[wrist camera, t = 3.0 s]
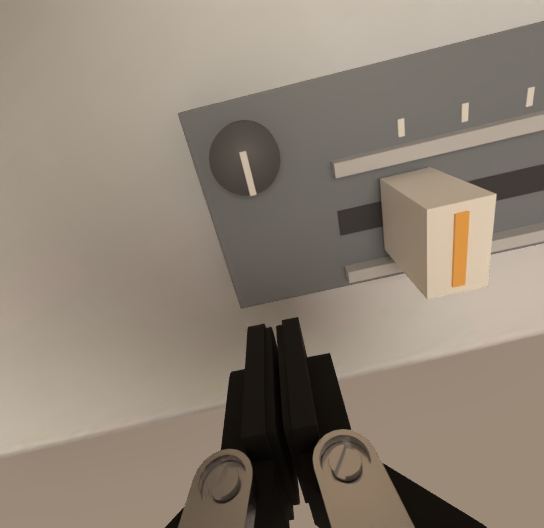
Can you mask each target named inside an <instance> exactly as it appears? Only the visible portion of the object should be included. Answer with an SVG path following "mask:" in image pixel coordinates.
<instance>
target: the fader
mask: <svg viewBox="0 0 544 528" xmlns="http://www.w3.org/2000/svg"><path fill="white" fill-rule="evenodd" d="M380 189H381V204H382V218H383V233H384V247H385V251H386V252H387V253H388V254H389V255H390V256H391V258H392V259H393V260H394V261H395V262H396V263H397V265H398V266H399V267H400V268H401V269H402V270H403V272H404V273H405V274H406V275H407V276H408V277H409V279H410V280H411V281H412V282H413V283H414V284H415V286H416V287H417V288H418V289H419V290H420V291H421V293H422V294H423V295H424V296H425V297H426V298H427V299H431V298H436V297H441V296H445V295H450V294H455V293H460V292H464V291H469V290H474V289H479V288H483V287H488V277H489V267H490V256H491V246H492V236H493V226H494V215H495V205H496V195H497V194H495V193H493V192H491V191H488V190H486V189H483V188H481V187H478V186H476V185H473V184H471V183H468V182H466V181H463V180H461V179H458V178H456V177H453V176H451V175H449V174H446V173H444V172H441V171H439V170H436V169H434V168H431V167H428V168H423V169H419V170H415V171H411V172H406V173H402V174H398V175H393V176H389V177H385V178H380Z"/></svg>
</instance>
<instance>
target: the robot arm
mask: <svg viewBox="0 0 544 528" xmlns="http://www.w3.org/2000/svg"><path fill="white" fill-rule="evenodd" d="M276 330H277V344H276V341H275V337H274V333H273V330H272V327H268V328H266V326H265V324H261V325H256V326H250V327H248V330H247V346H246V363H245V369H243V370H238V371H233V372H231V373H230V377H229V385H228V394H227V402H226V411H225V420H224V428H223V437H222V445H221V450H220V451H218V452H216V453H214V454H212V455H211V456H209V457H208V458H207V459H206V460H205V461H204V462H203V463H202V464H201V466H200V467H199V468H198V470H197V472H196V474H195V476H194V478H193V481H192V485H191V488H190V491H189V494H188V497H187V501H186V504H185V507H184V508H183V509H182V510H181V511H180V512H179V513H178V514H177V515H176V516H175V517H174V518H173V519H172V521H171V522H170V523H169V524H168V525H167V526H166V527H165V528H289V520H294V512H293V505H299V504H300V498H299V488H298V480H299V483H300V486H301V490H302V493H303V496H304V500H305V503H309V506H310V509H311V512H312V516H313V519H314V523H315V525H317V526H318V527H319V528H487V527H486V526H484V525H483V524H482V523H480V522H478V521H477V520H475V519H473V518H472V517H470V516H469V515H467V514H465V513H464V512H462V511H460V510H459V509H457V508H455V507H454V506H452V505H451V504H449V503H447V502H446V501H444V500H442V499H441V498H439V497H437V496H436V495H434V494H433V493H431V492H429V491H428V490H426V489H424V488H423V487H421V486H419V485H418V484H416V483H414V482H413V481H411V480H410V479H408V478H406V477H405V476H403V475H401V474H400V473H398V472H396V471H395V470H393V469H392V468H390V467H388V466H387V465H385V464H383V463H382V462H381V460H380V458H379V456H378V454H377V452H376V450H375V448H374V447H373V445H372V444H371V442H370V441H369V440H368V439H367V438H366V437H364V436H363V435H362V434H360V433H358V432H355V431H353V430H351V427H350V423H349V420H348V416H347V413H346V409H345V405H344V402H343V398H342V395H341V391H340V388H339V384H338V380H337V377H336V373H335V369H334V366H333V362H332V358H331V355H330V353H328V354H322V355H317V356H312V357H307V355H306V350H305V346H304V341H303V337H302V332H301V328H300V323H299V319H298V317H296V318H291V319H286V320H282V325H278V326H276ZM277 345H278V348H277Z"/></svg>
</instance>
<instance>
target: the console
mask: <svg viewBox="0 0 544 528" xmlns="http://www.w3.org/2000/svg"><path fill="white" fill-rule="evenodd" d="M178 116H179V119H180V122H181V125H182V128H183V131H184V134H185V137H186V141H187V144H188V147H189V150H190V153H191V156H192V159H193V162H194V165H195V168H196V171H197V174H198V178H199V181H200V184H201V187H202V190H203V193H204V196H205V199H206V202H207V205H208V208H209V211H210V215H211V218H212V221H213V224H214V227H215V230H216V233H217V236H218V239H219V242H220V245H221V248H222V252H223V255H224V258H225V261H226V264H227V267H228V270H229V273H230V276H231V279H232V282H233V285H234V289H235V292H236V295H237V298H238V301H239V304H240V307H241V308H246V307H250V306H255V305H259V304H264V303H269V302H273V301H278V300H283V299H287V298H292V297H297V296H301V295H306V294H310V293H315V292H320V291H324V290H329V289H334V288H338V287H343V286H347V285H352V284H357V283H361V282H366V281H371V280H375V279H380V278H385V277H389V276H394V275H398V274H403V273H404V272H403V270H402V269H401V268H400V267H399V266H398V265H397V263H396V262H395V261H394V260H393V259H392V258H391V256H390V255H389V254H388V253H387V252H386V251H385V247H384V233H383V218H382V204H381V189H380V178H385V177H389V176H393V175H398V174H402V173H406V172H411V171H415V170H419V169H423V168H428V167H431V168H434V169H436V170H439V171H441V172H444V173H446V174H449V175H451V176H453V177H456V178H458V179H461V180H463V181H466V182H468V183H471V184H473V185H476V186H478V187H481V188H483V189H486V190H488V191H491V192H493V193H495V194H497V195H496V205H495V215H494V226H493V236H492V246H491V254H496V253H500V252H505V251H510V250H514V249H519V248H523V247H528V246H533V245H537V244H542V243H544V21H542V22H538V23H534V24H530V25H526V26H522V27H518V28H514V29H510V30H506V31H502V32H498V33H494V34H490V35H486V36H482V37H478V38H474V39H470V40H466V41H462V42H458V43H454V44H451V45H447V46H443V47H439V48H435V49H431V50H427V51H423V52H419V53H415V54H411V55H407V56H403V57H399V58H395V59H391V60H387V61H383V62H379V63H375V64H371V65H367V66H363V67H359V68H355V69H351V70H347V71H343V72H339V73H335V74H331V75H327V76H323V77H319V78H315V79H311V80H307V81H303V82H299V83H295V84H292V85H288V86H284V87H280V88H276V89H272V90H268V91H264V92H260V93H256V94H252V95H248V96H244V97H240V98H236V99H232V100H228V101H224V102H220V103H216V104H212V105H208V106H204V107H200V108H196V109H192V110H188V111H184V112H180V113H178Z"/></svg>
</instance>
